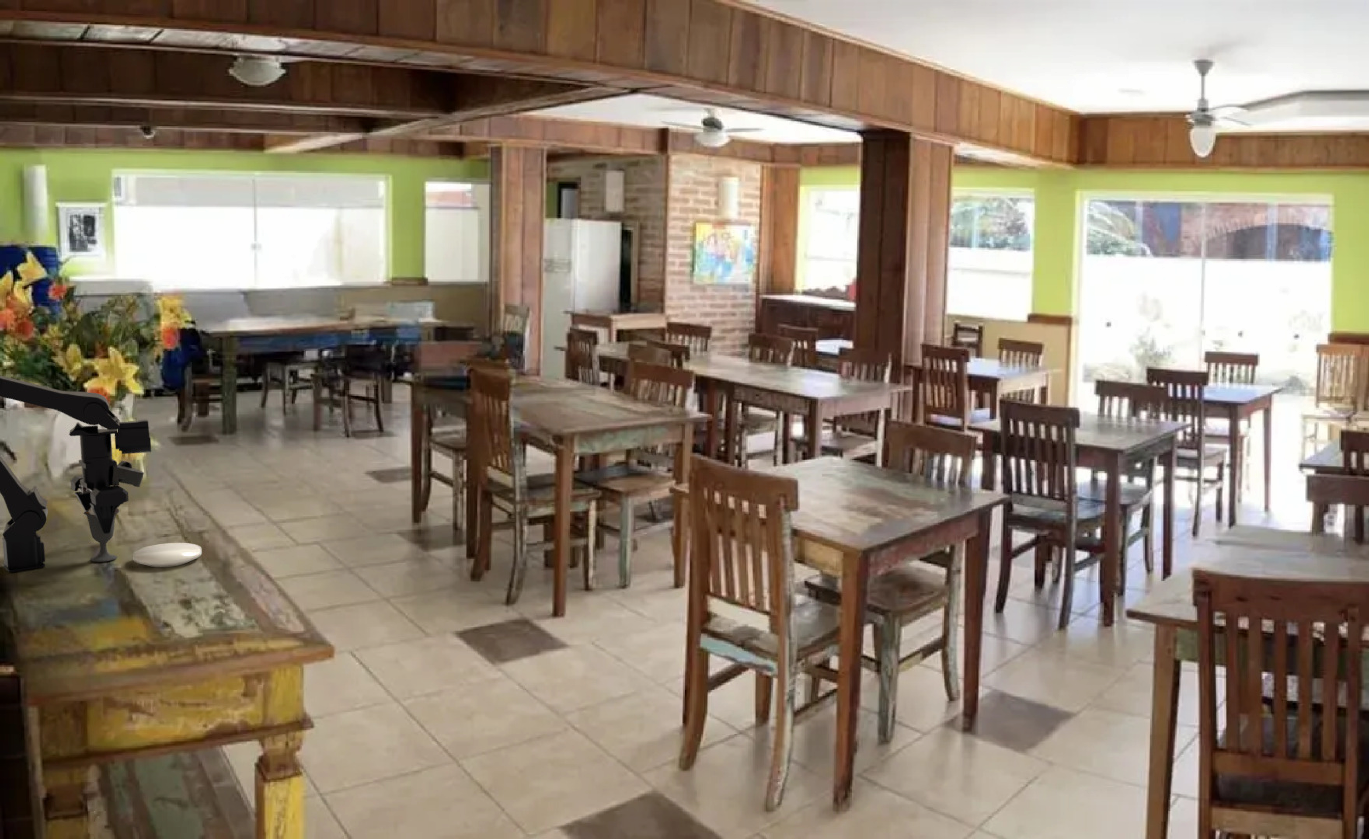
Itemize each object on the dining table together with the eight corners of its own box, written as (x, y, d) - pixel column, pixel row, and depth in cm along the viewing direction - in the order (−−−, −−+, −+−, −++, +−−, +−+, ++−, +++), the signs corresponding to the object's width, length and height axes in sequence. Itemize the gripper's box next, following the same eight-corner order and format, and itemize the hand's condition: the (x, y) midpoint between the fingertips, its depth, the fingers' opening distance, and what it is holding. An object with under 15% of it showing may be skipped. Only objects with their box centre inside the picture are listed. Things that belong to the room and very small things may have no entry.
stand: (145, 573, 239) (145, 564, 239) (125, 559, 249) (124, 549, 248) (211, 562, 247) (210, 553, 247) (188, 548, 257) (188, 539, 257)
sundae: (95, 564, 243) (91, 492, 241) (80, 558, 247) (76, 488, 245) (127, 558, 248) (123, 488, 246) (112, 552, 252) (108, 483, 250)
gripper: (152, 458, 243) (157, 532, 245) (124, 444, 257) (128, 514, 259) (94, 465, 235) (99, 541, 238) (67, 449, 249) (72, 522, 252)
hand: (101, 529), depth 247 cm, fingers closed on sundae, 7 cm apart
